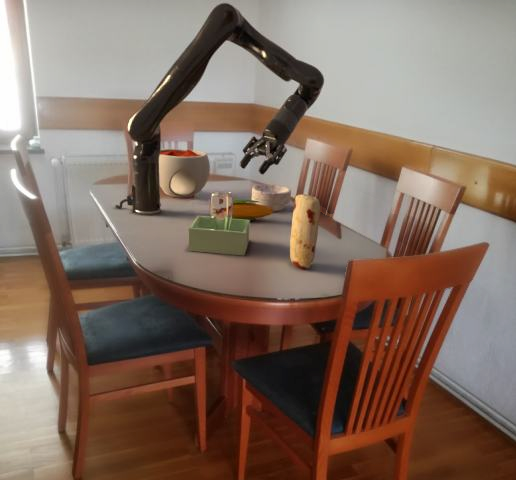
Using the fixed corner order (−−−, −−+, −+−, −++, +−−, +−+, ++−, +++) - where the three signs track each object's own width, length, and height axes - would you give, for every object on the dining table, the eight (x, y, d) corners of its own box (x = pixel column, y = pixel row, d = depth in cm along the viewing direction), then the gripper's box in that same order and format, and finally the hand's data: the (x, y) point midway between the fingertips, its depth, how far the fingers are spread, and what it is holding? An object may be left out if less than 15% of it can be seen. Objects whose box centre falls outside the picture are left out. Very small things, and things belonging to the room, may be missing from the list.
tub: (188, 250, 155) (188, 228, 151) (197, 236, 167) (197, 215, 164) (244, 255, 154) (245, 232, 151) (248, 241, 167) (249, 220, 164)
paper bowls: (262, 214, 197) (263, 193, 194) (244, 205, 209) (245, 184, 205) (296, 212, 204) (298, 191, 200) (277, 203, 216) (279, 183, 212)
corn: (217, 195, 186) (271, 196, 191) (216, 216, 190) (270, 216, 195) (220, 202, 180) (276, 202, 184) (219, 223, 184) (274, 223, 189)
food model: (282, 261, 151) (288, 191, 142) (302, 259, 154) (309, 190, 145) (299, 273, 144) (307, 199, 134) (320, 270, 147) (329, 198, 137)
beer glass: (235, 241, 162) (237, 192, 155) (226, 247, 157) (228, 197, 150) (214, 238, 164) (215, 189, 157) (205, 244, 158) (206, 194, 151)
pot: (220, 196, 220) (222, 151, 212) (184, 205, 202) (184, 157, 194) (176, 186, 231) (176, 144, 223) (138, 194, 213) (136, 148, 204)
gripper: (259, 115, 161) (229, 156, 159) (292, 121, 152) (261, 166, 151) (270, 132, 167) (241, 173, 165) (302, 140, 158) (272, 182, 157)
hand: (250, 169), depth 158 cm, fingers open, 8 cm apart
